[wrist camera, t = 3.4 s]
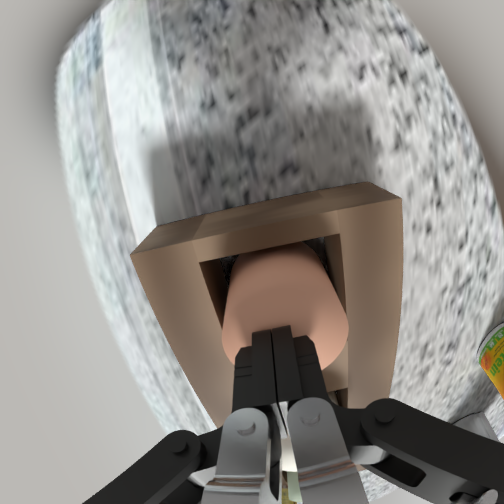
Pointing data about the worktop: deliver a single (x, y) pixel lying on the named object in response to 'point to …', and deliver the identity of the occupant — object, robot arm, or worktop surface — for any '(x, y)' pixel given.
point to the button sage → (293, 487)
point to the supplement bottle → (493, 357)
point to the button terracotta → (283, 300)
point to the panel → (270, 235)
